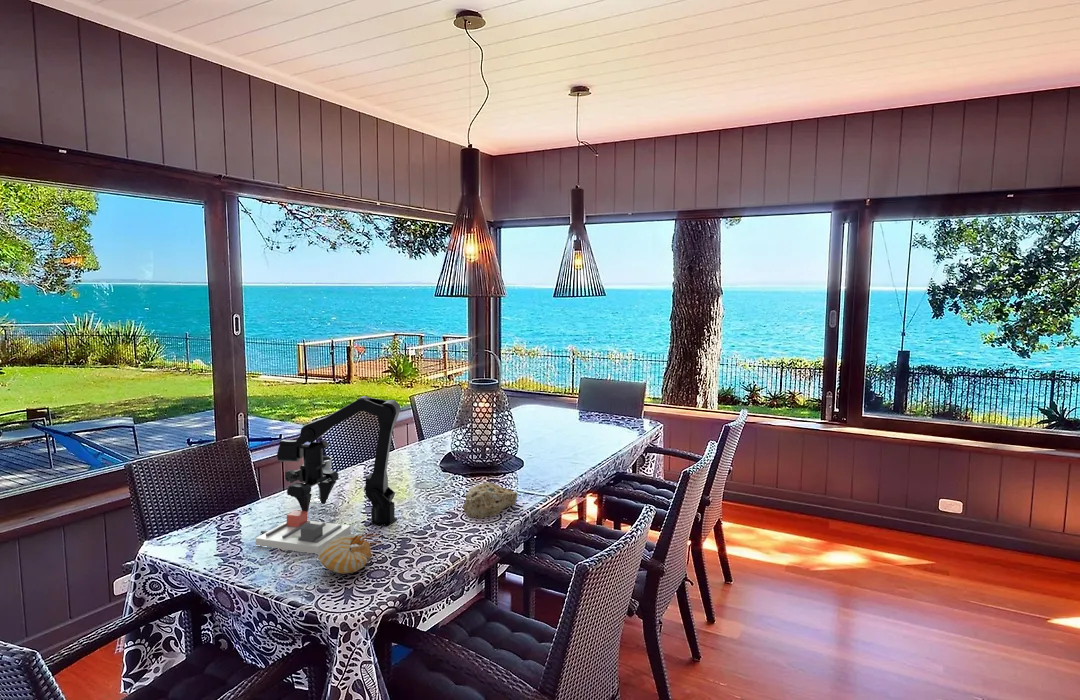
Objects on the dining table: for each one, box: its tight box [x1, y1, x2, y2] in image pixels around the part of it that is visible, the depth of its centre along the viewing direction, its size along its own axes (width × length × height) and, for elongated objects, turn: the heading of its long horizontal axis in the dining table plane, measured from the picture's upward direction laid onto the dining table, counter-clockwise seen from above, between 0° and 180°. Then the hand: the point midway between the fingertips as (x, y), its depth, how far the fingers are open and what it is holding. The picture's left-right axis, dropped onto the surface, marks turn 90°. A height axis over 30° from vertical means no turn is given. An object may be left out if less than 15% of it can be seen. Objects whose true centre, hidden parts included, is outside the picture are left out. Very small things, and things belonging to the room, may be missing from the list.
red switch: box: [286, 509, 308, 527], centre depth 182 cm, size 4×4×4 cm
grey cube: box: [301, 523, 323, 542], centre depth 172 cm, size 4×4×4 cm
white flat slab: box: [255, 520, 352, 555], centre depth 178 cm, size 26×16×3 cm, turn 75°
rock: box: [462, 482, 518, 519], centre depth 204 cm, size 21×14×10 cm
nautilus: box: [317, 530, 384, 575], centre depth 161 cm, size 8×22×15 cm
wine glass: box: [314, 455, 332, 501], centre depth 211 cm, size 8×8×15 cm
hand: (314, 508), depth 191 cm, fingers open, 9 cm apart
